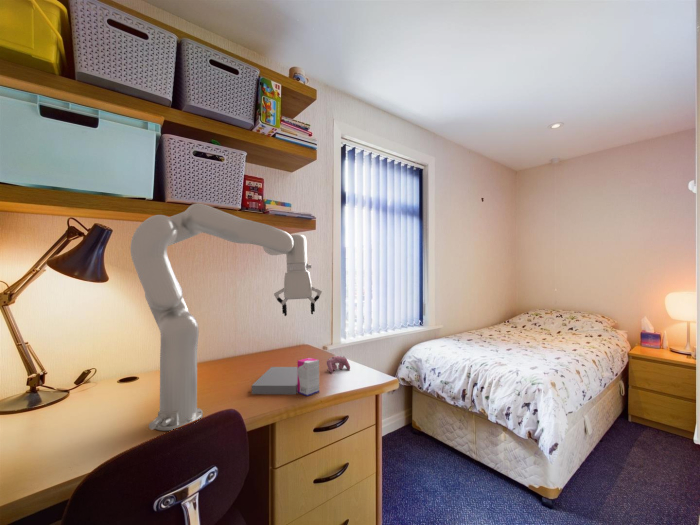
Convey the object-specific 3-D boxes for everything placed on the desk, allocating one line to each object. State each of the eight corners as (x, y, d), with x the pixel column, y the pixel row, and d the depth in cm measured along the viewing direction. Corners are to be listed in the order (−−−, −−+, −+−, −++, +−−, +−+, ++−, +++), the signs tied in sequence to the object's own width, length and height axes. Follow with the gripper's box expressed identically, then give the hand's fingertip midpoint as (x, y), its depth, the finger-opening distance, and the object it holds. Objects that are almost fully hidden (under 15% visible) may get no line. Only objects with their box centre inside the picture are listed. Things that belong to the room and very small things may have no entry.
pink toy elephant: (347, 371, 136) (344, 355, 140) (351, 369, 133) (348, 353, 136) (327, 374, 132) (324, 358, 135) (330, 372, 129) (327, 356, 132)
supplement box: (320, 391, 109) (319, 359, 109) (307, 397, 104) (307, 363, 105) (309, 388, 113) (309, 356, 113) (296, 392, 108) (296, 360, 109)
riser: (296, 394, 107) (296, 385, 107) (251, 394, 108) (251, 385, 108) (308, 374, 129) (308, 366, 129) (271, 374, 130) (271, 366, 130)
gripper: (320, 267, 117) (321, 311, 117) (274, 269, 115) (275, 314, 114) (321, 267, 110) (322, 314, 109) (272, 269, 107) (273, 317, 107)
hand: (298, 314), depth 112 cm, fingers open, 9 cm apart
